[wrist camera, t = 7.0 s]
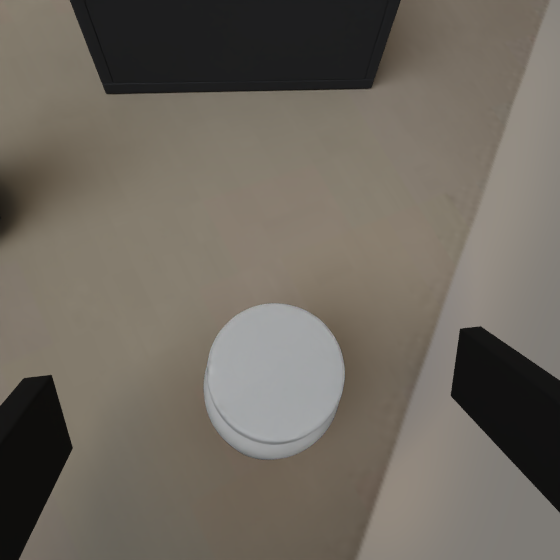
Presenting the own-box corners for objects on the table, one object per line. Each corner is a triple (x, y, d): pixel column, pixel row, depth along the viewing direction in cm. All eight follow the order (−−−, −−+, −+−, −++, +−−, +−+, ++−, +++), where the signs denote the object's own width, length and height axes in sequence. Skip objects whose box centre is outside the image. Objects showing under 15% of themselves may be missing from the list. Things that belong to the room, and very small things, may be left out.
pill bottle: (284, 340, 20) (307, 266, 12) (332, 425, 18) (394, 401, 10) (200, 384, 18) (166, 332, 11) (243, 480, 17) (240, 499, 9)
